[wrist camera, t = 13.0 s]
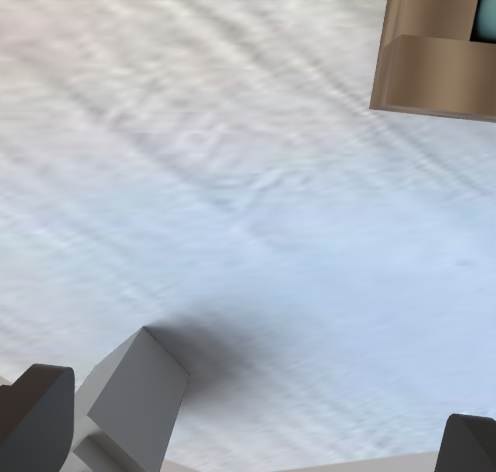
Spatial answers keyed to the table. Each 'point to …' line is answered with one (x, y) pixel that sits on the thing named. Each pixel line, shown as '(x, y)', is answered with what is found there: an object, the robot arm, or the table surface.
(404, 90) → the bore block
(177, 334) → the table surface
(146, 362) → the perfume bottle
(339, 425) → the table surface
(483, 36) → the pin
